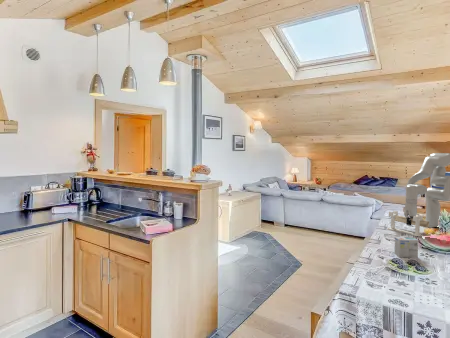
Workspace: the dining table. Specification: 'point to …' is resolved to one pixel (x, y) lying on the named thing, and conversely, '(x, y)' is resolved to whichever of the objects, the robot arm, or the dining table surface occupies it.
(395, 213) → the rack
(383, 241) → the dining table surface
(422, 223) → the rail
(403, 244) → the light bulb box
